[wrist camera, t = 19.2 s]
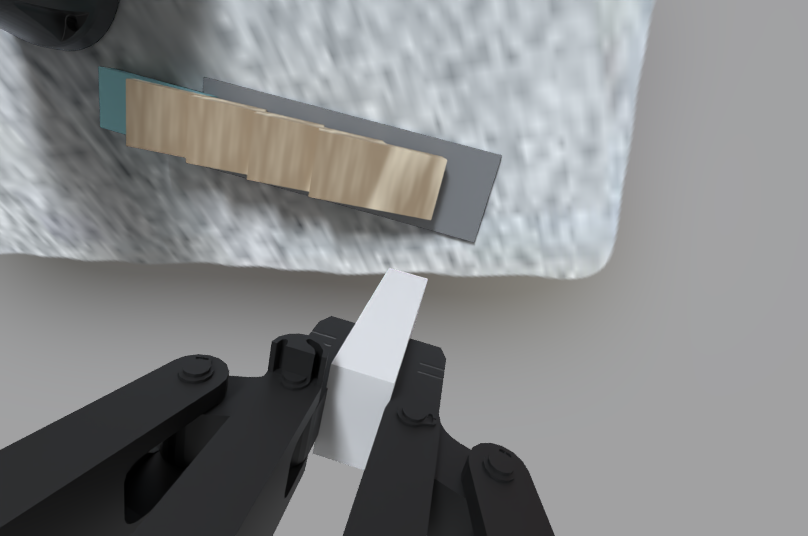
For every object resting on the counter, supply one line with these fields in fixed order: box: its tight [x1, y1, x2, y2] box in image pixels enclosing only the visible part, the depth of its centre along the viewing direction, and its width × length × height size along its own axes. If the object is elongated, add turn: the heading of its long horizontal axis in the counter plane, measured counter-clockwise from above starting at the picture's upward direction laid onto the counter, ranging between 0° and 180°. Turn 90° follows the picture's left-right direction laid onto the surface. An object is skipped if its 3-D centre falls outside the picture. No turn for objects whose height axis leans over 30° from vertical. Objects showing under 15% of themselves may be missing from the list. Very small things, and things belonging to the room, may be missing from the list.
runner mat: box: [203, 77, 502, 242], centre depth 43 cm, size 31×9×1 cm, turn 76°
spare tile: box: [98, 66, 218, 135], centre depth 43 cm, size 2×6×12 cm
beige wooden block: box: [186, 95, 324, 175], centre depth 40 cm, size 2×6×12 cm
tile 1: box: [308, 128, 447, 220], centre depth 40 cm, size 2×6×12 cm
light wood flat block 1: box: [126, 79, 267, 158], centre depth 41 cm, size 2×6×12 cm
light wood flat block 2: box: [247, 112, 385, 192], centre depth 40 cm, size 2×6×12 cm
